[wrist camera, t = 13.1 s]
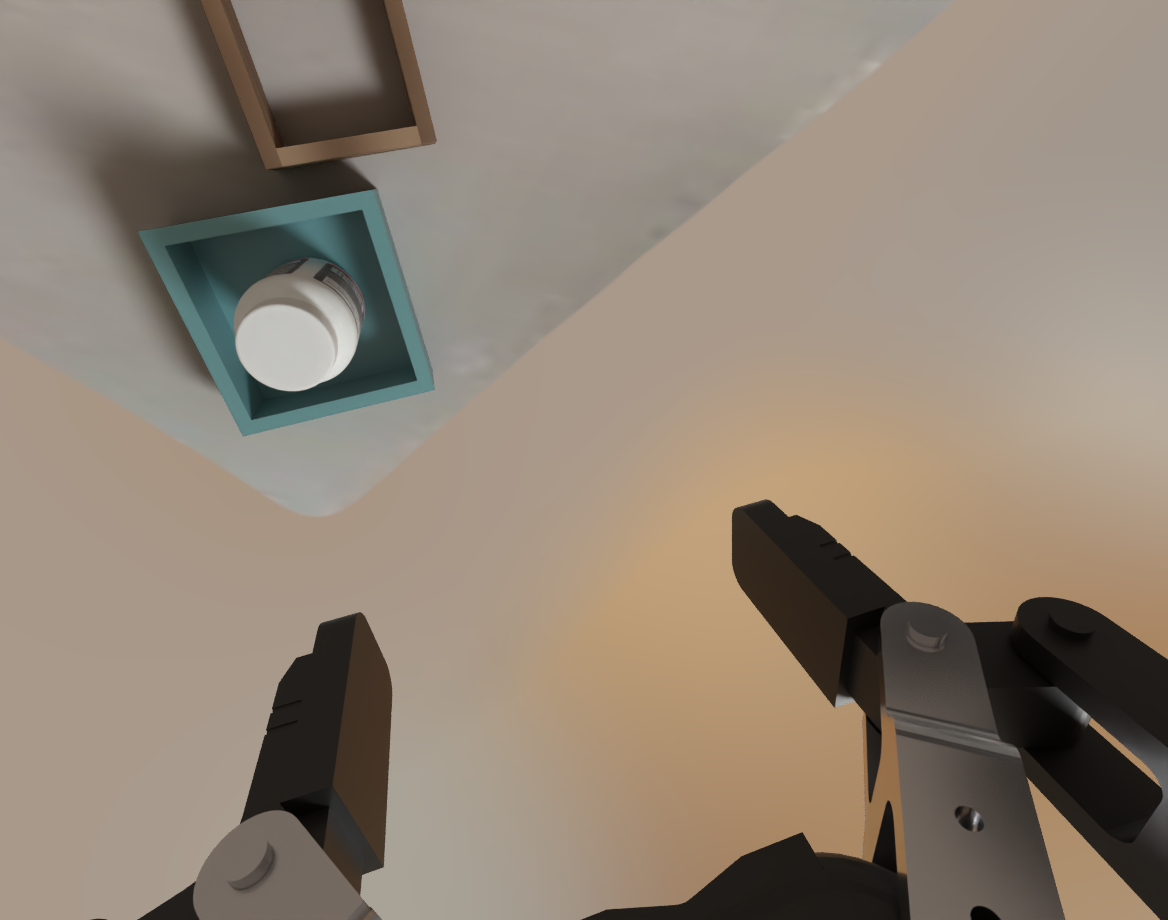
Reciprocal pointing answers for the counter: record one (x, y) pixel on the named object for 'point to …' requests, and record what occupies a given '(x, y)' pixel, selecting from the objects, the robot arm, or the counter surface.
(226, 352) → the tray
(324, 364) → the pill bottle
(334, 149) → the brown open box
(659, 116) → the counter surface
